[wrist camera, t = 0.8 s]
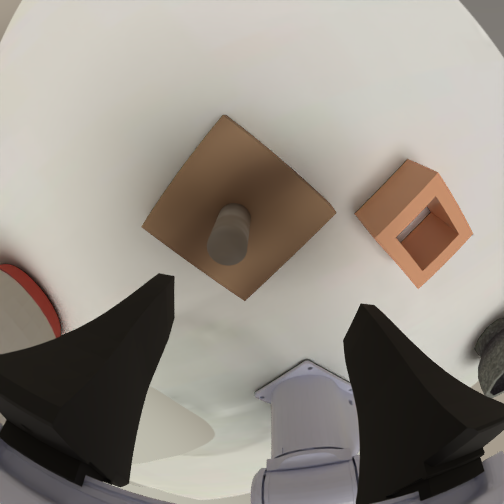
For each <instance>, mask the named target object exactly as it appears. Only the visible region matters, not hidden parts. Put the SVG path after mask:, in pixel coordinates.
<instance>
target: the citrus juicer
mask: <svg viewBox="0 0 504 504" xmlns="http://www.w3.org/2000/svg"><path fill="white" fill-rule="evenodd" d="M60 336H61V327H60V322H59V319H58V316H57V314H56V312H55V310H54V308H53V306H52V304H51V303H50V301H49V300H48V298H47V296H46V295H45V294H44V293H43V291H42V290H41V289H40V287H39V286H38V285H37V284H36V283H35V282H34V281H33V280H32V279H31V278H30V277H29V276H28V275H27V274H26V273H24V272H23V271H22V270H20V269H19V268H17V267H15V266H13V265H9V264H2V265H0V354H5V353H9V352H13V351H18V350H22V349H26V348H29V347H32V346H36V345H39V344H42V343H45V342H47V341H50V340H53V339H55V338H57V337H60ZM5 422H6V419H5V417H4V416H3V415H2V414H1V413H0V423H1V424H2V425H3V426H4V424H5Z"/></svg>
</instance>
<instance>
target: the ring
mask: <svg viewBox="0 0 504 504" xmlns="http://www.w3.org/2000/svg"><path fill="white" fill-rule="evenodd" d="M426 206H427V207H428V209H429V210H430V212H431V213H430V214H429V215H428V216H427V217H426V218H425V219H424V220H423V221H422V222H421V223H420V224H419V225H418V226H417V227H416V228H415V229H414V230H413V231H412V232H411V233H410V234H409V235H408V236H407V237H406V238H405V239H404V240H403V241H402V242H401V243H400V242H399V241H398V240H397V239H396V237H397V236H398V235H399V234H400V233H401V232H402V231H403V230H404V229H405V228H406V227H407V226H408V225H409V224H410V223H411V222H412V221H413V220H414V219H415V218H416V217H417V216H418V214H419V213H420V212H421V211H422V210H423V209H424V208H425V207H426ZM355 215H356V216H357V218H358V219H359V220H360V221H361V222H362V224H363V225H364V226H365V228H366V229H367V230H368V231H369V233H370V234H371V235H372V236H373V238H374V239H375V240H376V241H377V242H378V243H379V244H380V246H381V247H382V248H383V249H384V250H385V251H386V252H387V253H388V254H389V255H390V257H391V258H392V259H393V260H394V261H395V262H396V263H397V265H398V266H399V267H400V268H401V269H402V270H403V272H404V273H405V274H406V275H407V276H408V277H409V279H410V280H411V281H412V282H413V283H414V285H415V286H416V287H417V288H418V289H419V288H420V287H421V286H422V285H423V284H424V283H425V282H426V281H427V280H428V279H430V278H431V277H432V276H433V275H434V274H435V273H436V272H437V271H438V270H439V269H440V268H441V267H442V266H443V265H444V264H445V263H446V262H447V261H448V260H449V259H450V258H451V257H452V256H453V255H454V254H455V253H456V252H457V251H458V250H459V249H460V247H461V246H462V245H463V244H464V243H465V242H466V241H467V240H468V239H469V238H470V237H471V235H472V234H473V232H472V230H471V228H470V226H469V224H468V223H467V221H466V219H465V217H464V215H463V213H462V211H461V209H460V208H459V206H458V204H457V202H456V201H455V199H454V197H453V196H452V194H451V192H450V190H449V189H448V187H447V186H446V184H445V182H444V181H443V179H442V178H441V176H440V175H439V173H438V172H436V171H434V170H432V169H429V168H427V167H425V166H423V165H420V164H418V163H416V162H413V161H411V160H408V159H407V160H406V162H405V163H404V164H403V165H402V166H401V167H400V168H399V169H398V170H397V171H396V172H395V173H394V174H393V175H392V176H391V177H390V178H389V179H388V180H387V181H386V183H385V184H384V185H383V186H382V187H381V188H380V189H379V190H378V191H377V192H376V193H375V194H374V195H373V196H372V197H371V198H370V199H369V200H368V201H367V202H366V203H365V204H364V205H363V206H362V207H361V208H360V209H359V210H358V211H357V212H356V213H355Z"/></svg>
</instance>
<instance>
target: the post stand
mask: <svg viewBox="0 0 504 504" xmlns="http://www.w3.org/2000/svg"><path fill="white" fill-rule="evenodd" d="M335 214H336V211H335V210H334V208H333V207H332V205H331V204H330V203H329V202H328V201H327V200H326V199H325V198H323V197H322V196H321V195H320V194H319V193H318V192H317V191H316V190H315V189H314V188H313V187H312V186H311V185H309V184H308V183H307V182H306V181H305V180H304V179H303V178H302V177H301V176H299V175H298V174H297V173H296V172H295V171H294V170H293V169H292V168H290V167H289V166H288V165H287V164H286V163H285V162H283V161H282V160H281V159H280V158H279V157H278V156H276V155H275V154H274V153H273V152H272V151H271V150H269V149H268V148H267V147H266V146H265V145H263V144H262V143H261V142H260V141H258V140H257V139H256V138H255V137H254V136H252V135H251V134H250V133H249V132H247V131H246V130H245V129H244V128H242V127H241V126H240V125H238V124H237V123H236V122H235V121H233V120H232V119H231V118H229V117H228V116H227V115H223V116H222V117H221V118H220V119H219V120H218V122H217V123H216V124H215V125H214V126H213V128H212V129H211V130H210V131H209V133H208V134H207V135H206V136H205V138H204V139H203V140H202V142H201V143H200V144H199V145H198V147H197V148H196V149H195V151H194V152H193V153H192V154H191V156H190V157H189V158H188V160H187V161H186V162H185V164H184V165H183V167H182V168H181V169H180V171H179V172H178V173H177V175H176V176H175V178H174V179H173V180H172V182H171V183H170V185H169V186H168V187H167V189H166V190H165V192H164V193H163V195H162V196H161V198H160V199H159V201H158V202H157V204H156V205H155V207H154V208H153V210H152V211H151V213H150V214H149V216H148V217H147V219H146V220H145V222H144V223H143V225H142V228H144V229H145V230H146V231H147V232H149V233H150V234H151V235H153V236H154V237H155V238H157V239H158V240H160V241H161V242H162V243H164V244H165V245H166V246H168V247H169V248H170V249H172V250H173V251H174V252H176V253H177V254H179V255H180V256H181V257H183V258H184V259H185V260H187V261H188V262H190V263H191V264H192V265H194V266H195V267H197V268H198V269H199V270H201V271H202V272H204V273H205V274H206V275H208V276H209V277H211V278H212V279H214V280H215V281H216V282H218V283H219V284H221V285H222V286H224V287H225V288H227V289H228V290H229V291H231V292H232V293H234V294H235V295H237V296H238V297H240V298H241V299H243V300H244V301H245V300H246V299H247V298H249V297H250V296H251V295H252V294H253V293H254V292H255V291H256V290H257V289H258V288H259V287H260V286H261V285H262V284H264V283H265V282H266V281H267V280H268V279H269V278H270V277H271V276H272V275H273V274H274V273H275V272H276V271H277V270H278V269H279V268H280V267H281V266H283V265H284V264H285V263H286V262H287V261H288V260H289V259H290V258H291V257H292V256H293V255H294V254H295V253H296V252H297V251H298V250H299V249H300V248H301V247H302V246H303V245H304V244H305V243H306V242H307V241H308V240H309V239H310V238H311V237H312V236H314V235H315V234H316V233H317V232H318V231H319V230H320V229H321V228H322V227H323V226H324V225H325V224H326V223H327V222H328V221H329V220H330V219H331V218H332V217H333V216H334V215H335Z"/></svg>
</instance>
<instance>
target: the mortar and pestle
mask: <svg viewBox="0 0 504 504" xmlns="http://www.w3.org/2000/svg"><path fill="white" fill-rule="evenodd" d="M475 350H476V352H477V353H478V354H479V355H480V356H481V359H480V363H479V366H478V379H479V382H480V385H481V389H482V391H483V393H484V395H485V396H487V397H489V398H493V397H496V396H498V395H500V394H502V393H504V318H502V319H498V320H497V321H495V322H494V323H493V324H492V325H490V326H489V327H488V328H487V329H486V330H485V332H484V333H483V334H482V335H481V337H480V338H479V339H478V342H477V345H476V348H475Z"/></svg>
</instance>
